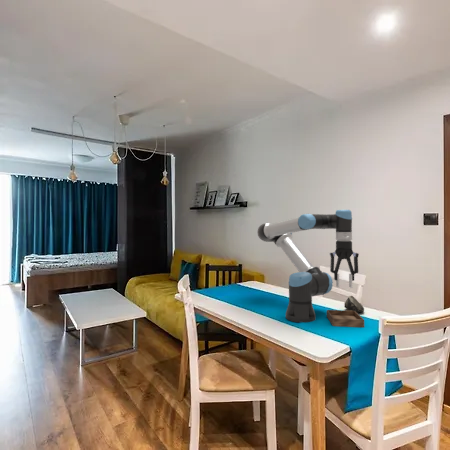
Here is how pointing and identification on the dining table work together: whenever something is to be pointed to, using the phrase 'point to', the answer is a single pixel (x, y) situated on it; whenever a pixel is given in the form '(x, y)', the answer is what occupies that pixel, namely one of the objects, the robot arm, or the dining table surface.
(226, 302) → the dining table surface
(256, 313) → the dining table surface
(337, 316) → the walnut tray
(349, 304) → the fossil
